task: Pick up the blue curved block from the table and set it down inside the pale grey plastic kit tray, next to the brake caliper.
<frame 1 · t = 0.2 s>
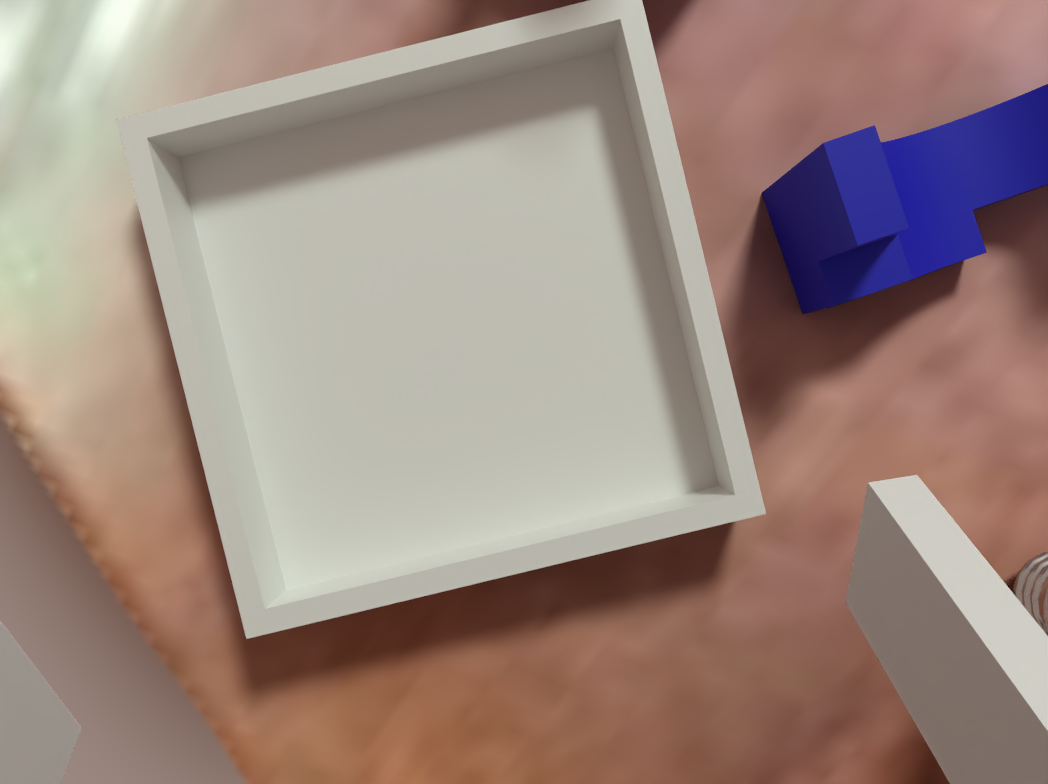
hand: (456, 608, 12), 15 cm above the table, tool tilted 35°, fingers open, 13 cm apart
light bulb: (1035, 585, 28), on the table
kit tray: (450, 323, 28), on the table
blue curved block: (938, 200, 28), on the table
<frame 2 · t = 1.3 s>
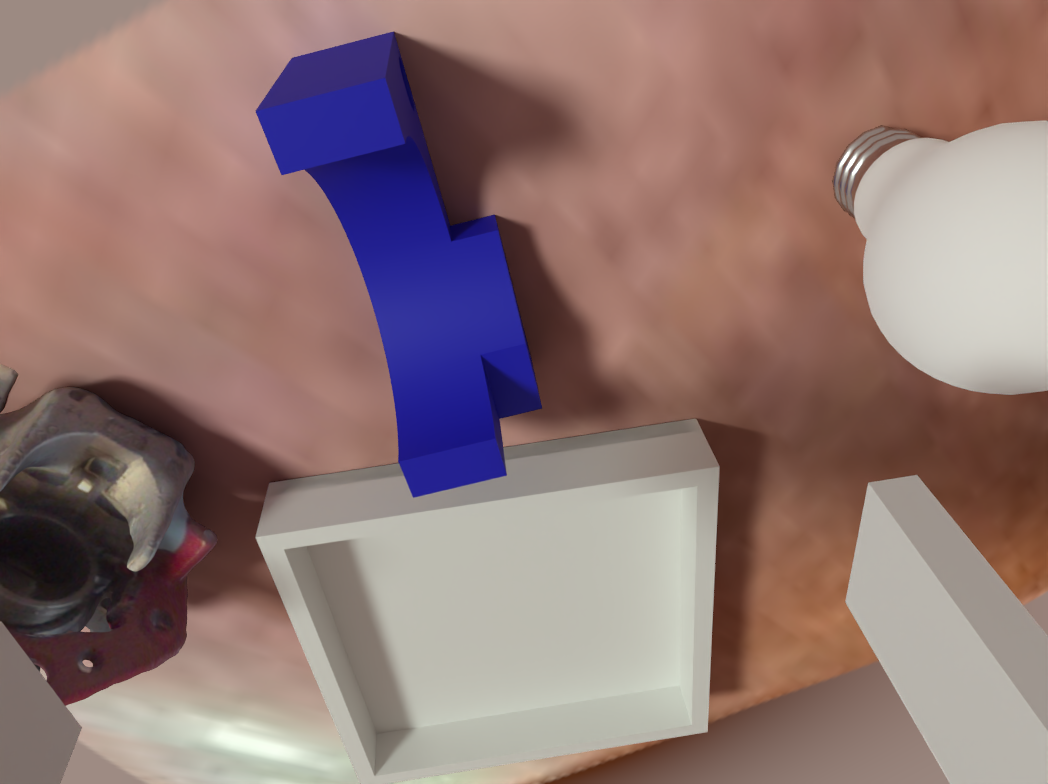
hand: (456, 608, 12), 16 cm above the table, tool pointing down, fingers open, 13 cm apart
light bulb: (862, 161, 26), on the table
kit tray: (509, 594, 36), on the table
blue curved block: (427, 226, 26), on the table
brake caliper: (78, 477, 30), on the table
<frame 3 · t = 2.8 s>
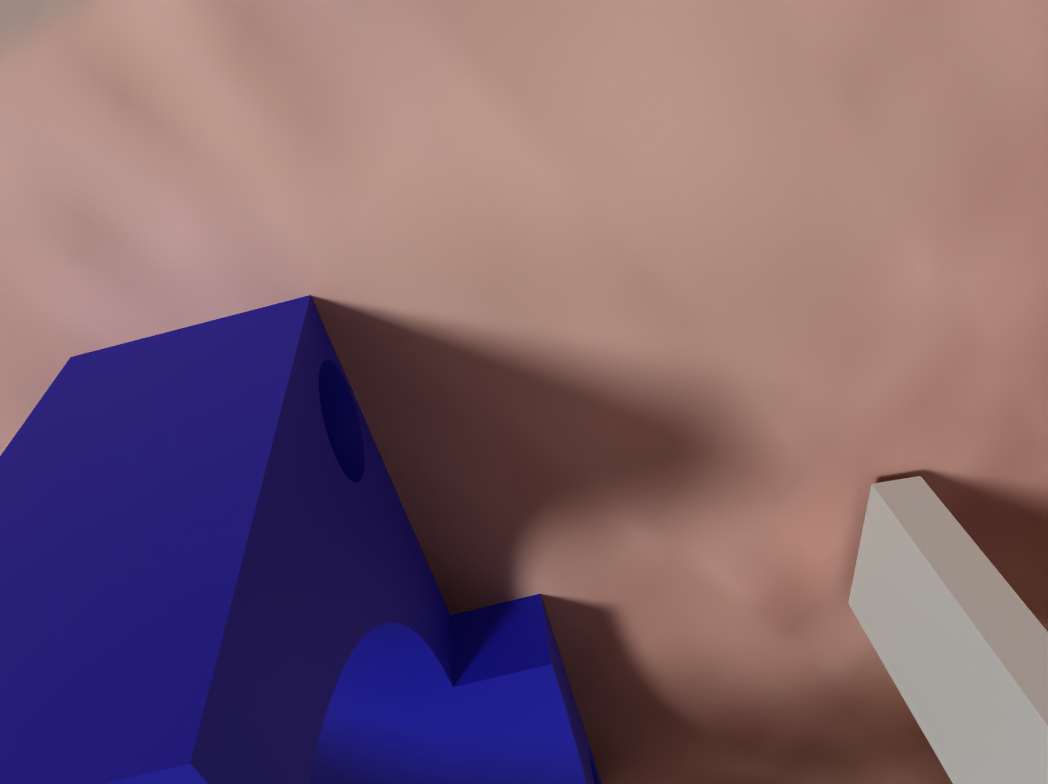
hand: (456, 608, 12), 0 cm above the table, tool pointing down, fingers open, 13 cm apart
blue curved block: (406, 608, 13), on the table
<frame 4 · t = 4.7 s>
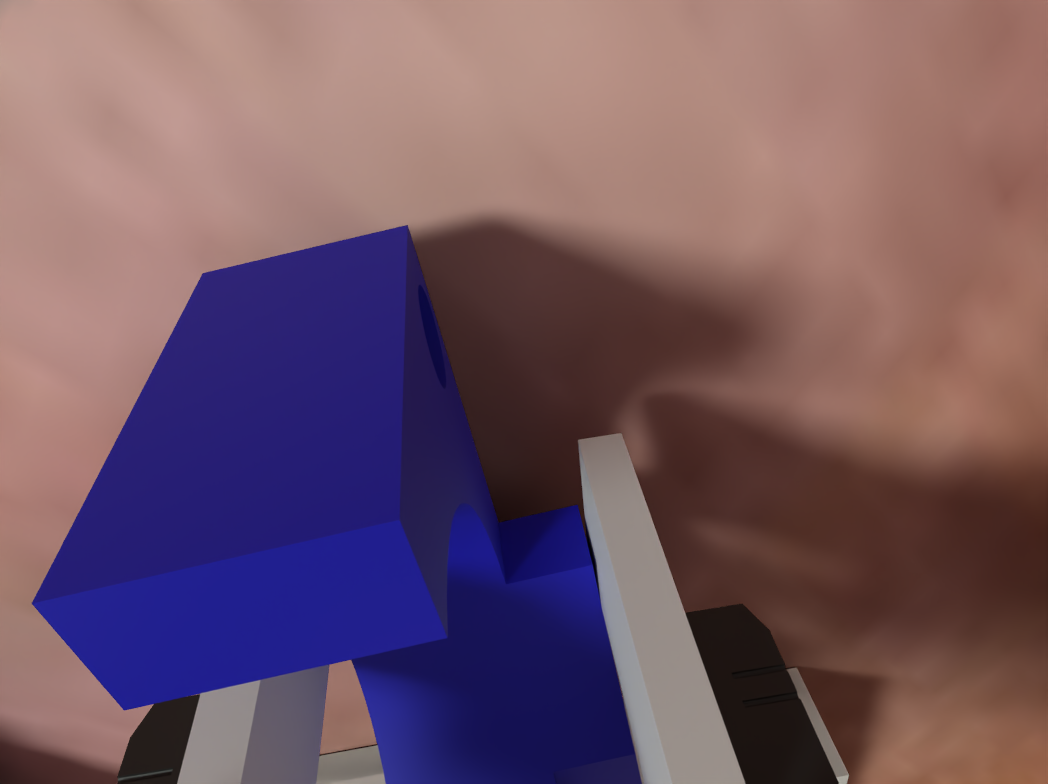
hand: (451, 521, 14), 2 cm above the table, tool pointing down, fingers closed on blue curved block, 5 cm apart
blue curved block: (458, 524, 15), point 1 cm above the table, touching gripper
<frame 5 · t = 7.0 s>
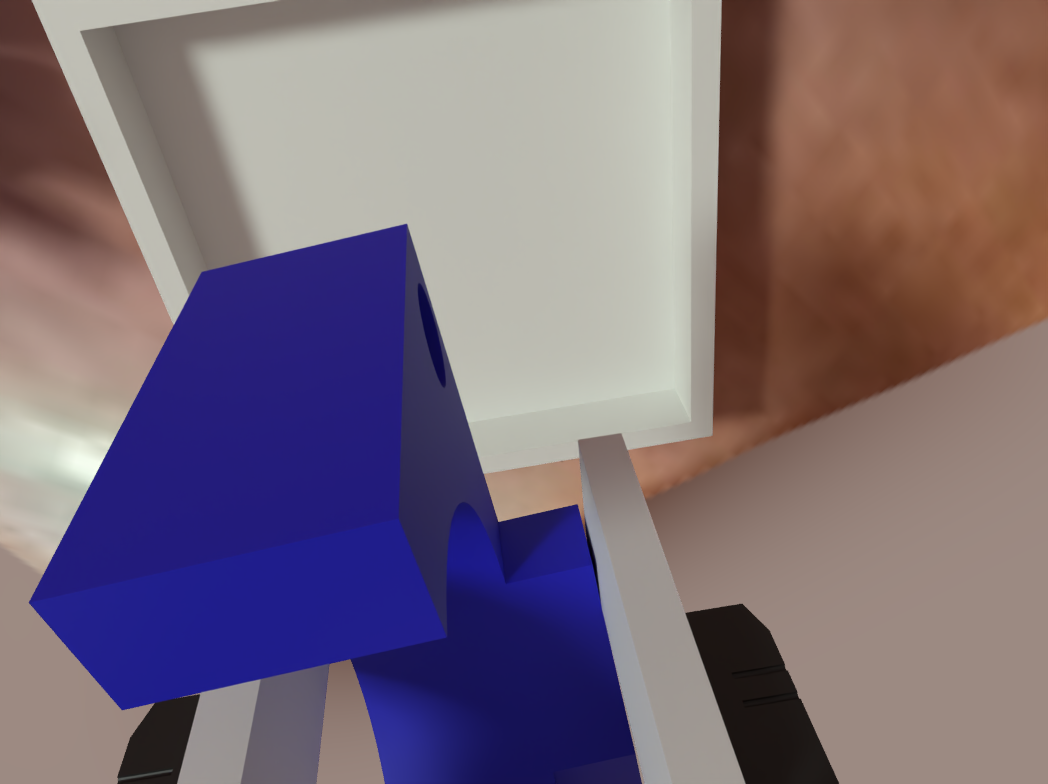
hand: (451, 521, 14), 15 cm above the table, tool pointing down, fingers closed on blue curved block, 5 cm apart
kit tray: (441, 226, 26), on the table
blue curved block: (458, 523, 15), point 14 cm above the table, touching gripper
when the fingers open (1 cm above the table, at t = 9.5 s): blue curved block stays where it is, resting on kit tray.
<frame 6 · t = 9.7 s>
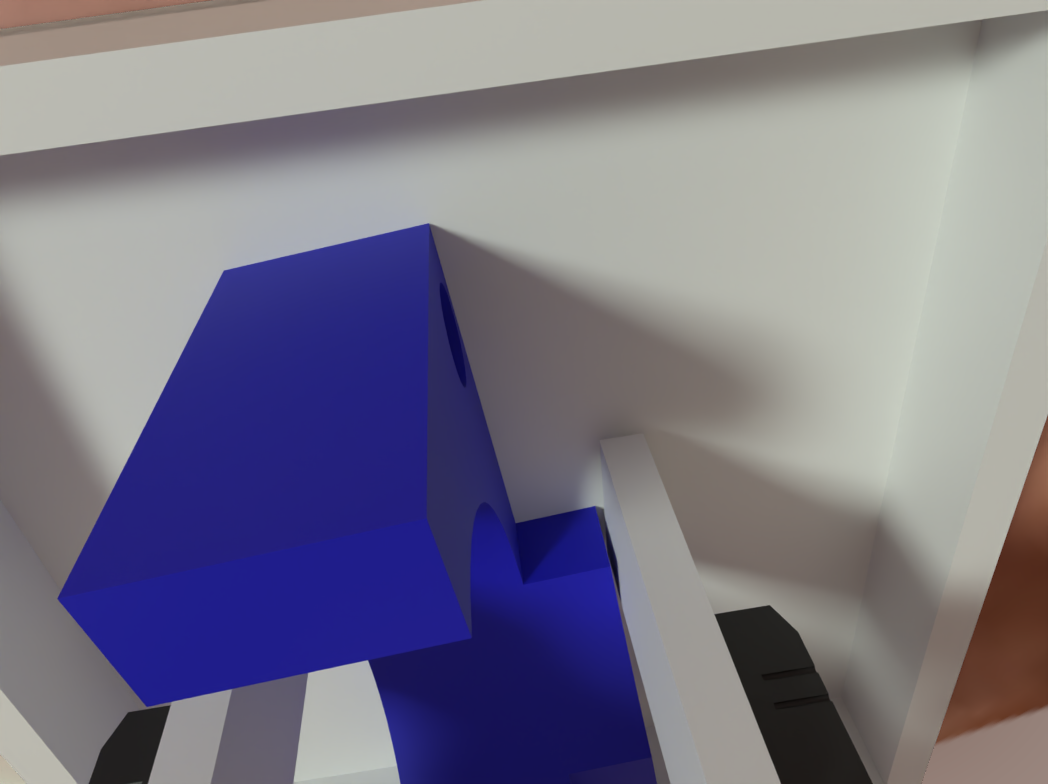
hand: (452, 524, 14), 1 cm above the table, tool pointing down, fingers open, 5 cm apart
kit tray: (473, 480, 15), on the table
blue curved block: (475, 523, 15), point 1 cm above the table, touching kit tray
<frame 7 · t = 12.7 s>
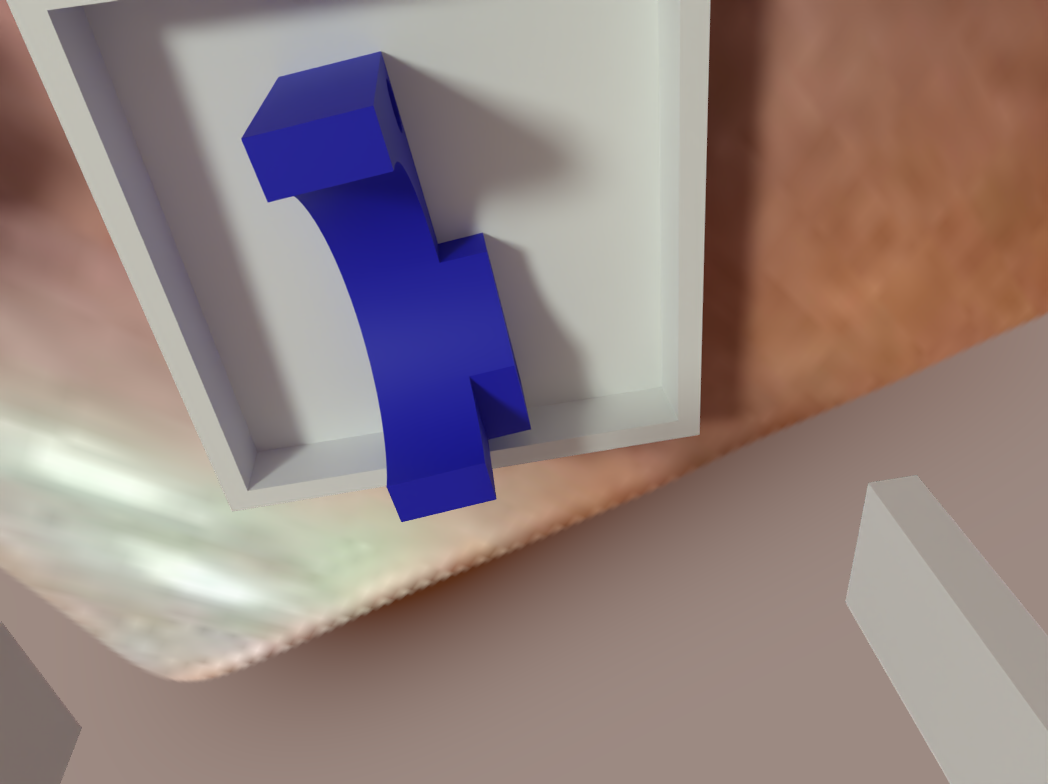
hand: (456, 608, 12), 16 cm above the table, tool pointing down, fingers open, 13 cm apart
kit tray: (424, 219, 26), on the table
blue curved block: (415, 246, 26), point 1 cm above the table, touching kit tray
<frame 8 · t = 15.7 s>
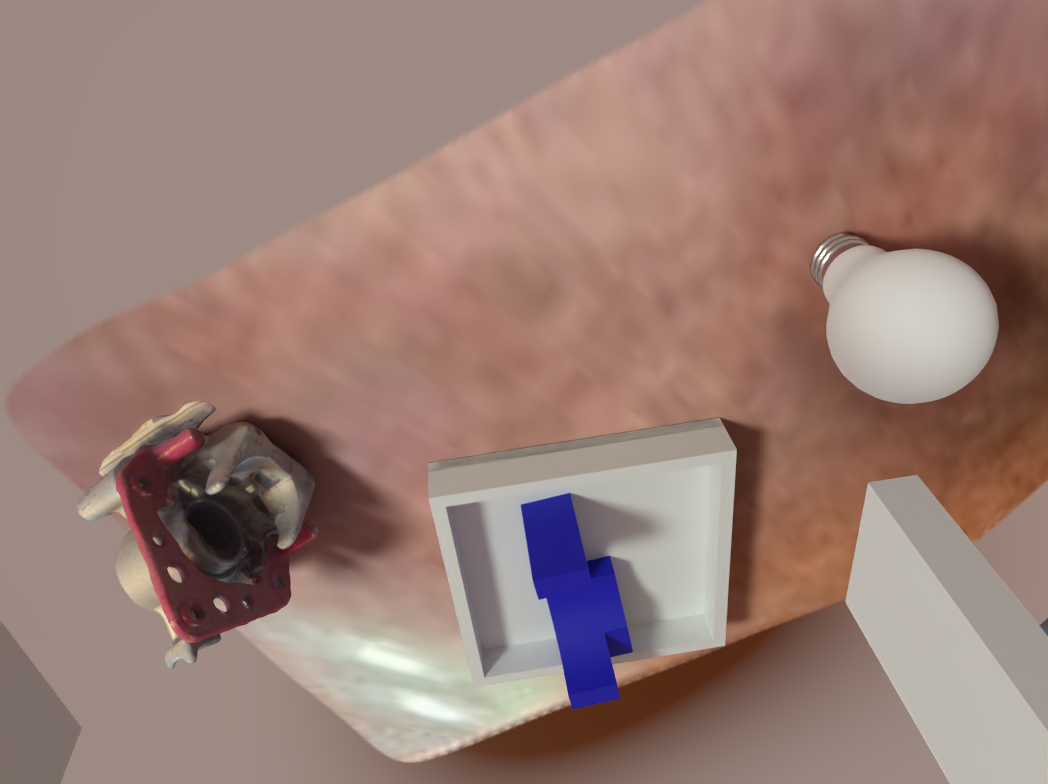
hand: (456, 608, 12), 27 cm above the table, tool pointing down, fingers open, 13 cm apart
light bulb: (829, 251, 40), on the table
kit tray: (584, 544, 50), on the table
blue curved block: (574, 561, 50), point 1 cm above the table, touching kit tray
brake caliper: (224, 477, 44), on the table
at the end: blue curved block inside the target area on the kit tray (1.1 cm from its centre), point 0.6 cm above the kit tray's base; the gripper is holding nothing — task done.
